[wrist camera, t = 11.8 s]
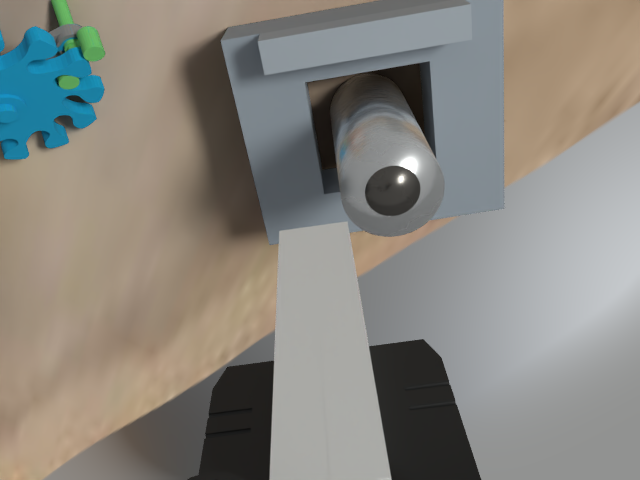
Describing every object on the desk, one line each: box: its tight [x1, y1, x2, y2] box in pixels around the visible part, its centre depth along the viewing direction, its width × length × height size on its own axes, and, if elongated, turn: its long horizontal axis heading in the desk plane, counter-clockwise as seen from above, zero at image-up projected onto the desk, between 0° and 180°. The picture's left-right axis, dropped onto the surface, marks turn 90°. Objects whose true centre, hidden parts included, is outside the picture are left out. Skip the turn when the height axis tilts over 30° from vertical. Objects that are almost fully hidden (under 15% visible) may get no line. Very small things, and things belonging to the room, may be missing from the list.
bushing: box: [330, 73, 445, 237], centre depth 30 cm, size 4×4×11 cm
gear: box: [0, 0, 105, 159], centre depth 31 cm, size 11×6×10 cm
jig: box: [221, 0, 504, 245], centre depth 33 cm, size 14×12×5 cm
